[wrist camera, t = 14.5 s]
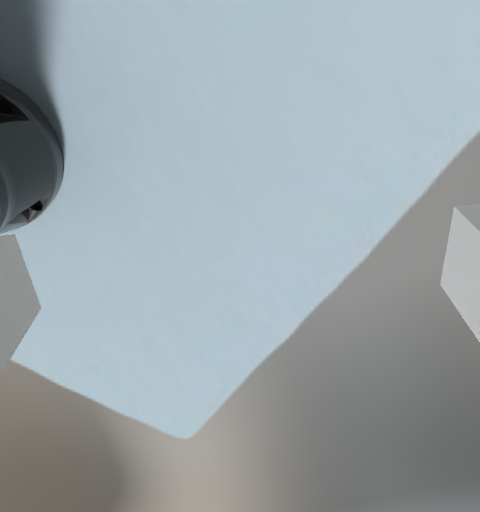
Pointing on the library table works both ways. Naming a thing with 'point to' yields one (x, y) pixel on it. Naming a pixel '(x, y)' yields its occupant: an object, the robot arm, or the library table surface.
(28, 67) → the library table surface
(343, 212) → the library table surface
